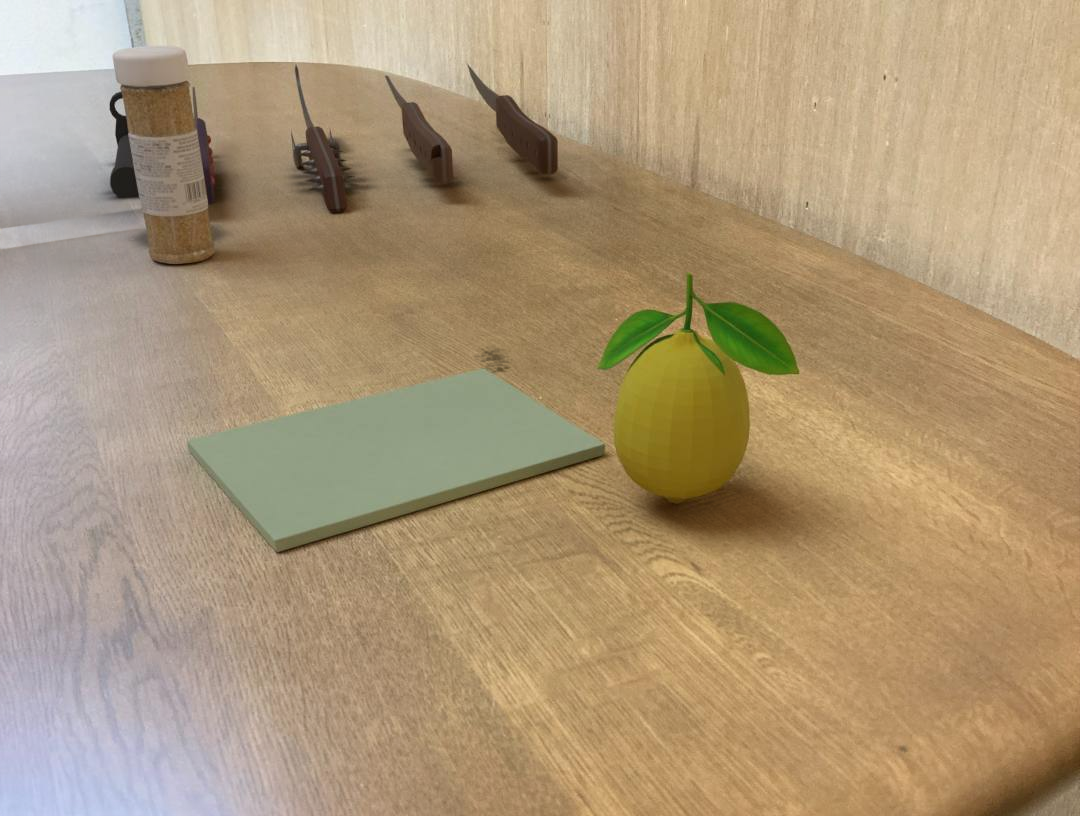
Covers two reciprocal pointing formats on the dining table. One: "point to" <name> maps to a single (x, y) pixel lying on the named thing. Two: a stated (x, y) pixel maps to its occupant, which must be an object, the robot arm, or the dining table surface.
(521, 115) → the knife set
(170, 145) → the sprinkles bottle
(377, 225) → the dining table surface
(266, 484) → the mat
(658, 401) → the lemon
